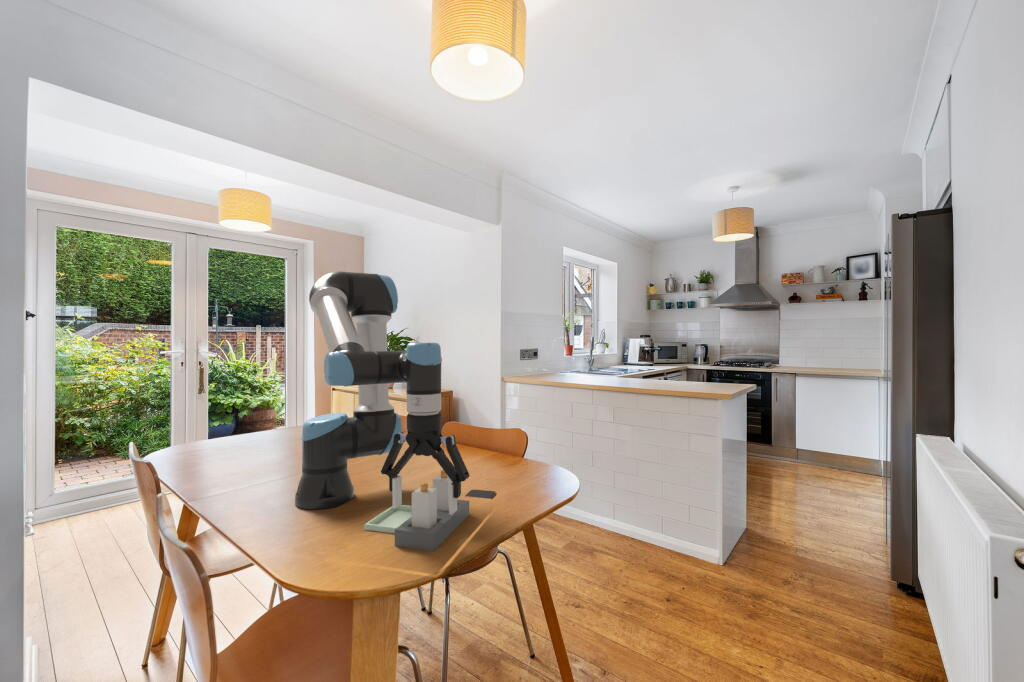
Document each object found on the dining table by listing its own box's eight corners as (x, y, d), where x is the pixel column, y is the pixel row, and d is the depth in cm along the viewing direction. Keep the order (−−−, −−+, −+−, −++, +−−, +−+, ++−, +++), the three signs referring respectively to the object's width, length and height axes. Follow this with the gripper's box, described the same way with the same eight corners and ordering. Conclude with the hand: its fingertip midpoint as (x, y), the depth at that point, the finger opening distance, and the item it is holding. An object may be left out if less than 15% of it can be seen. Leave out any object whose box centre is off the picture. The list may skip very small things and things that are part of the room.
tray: (364, 532, 101) (364, 524, 101) (395, 511, 114) (394, 504, 114) (400, 536, 98) (399, 528, 98) (427, 514, 111) (427, 507, 111)
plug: (411, 539, 95) (411, 486, 95) (420, 531, 98) (420, 480, 99) (428, 541, 94) (428, 487, 94) (436, 533, 97) (436, 481, 97)
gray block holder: (394, 548, 93) (394, 489, 93) (436, 513, 112) (436, 464, 112) (433, 553, 90) (433, 492, 90) (469, 516, 109) (469, 466, 109)
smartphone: (478, 515, 111) (496, 494, 127) (478, 511, 111) (496, 490, 127) (449, 512, 113) (471, 492, 129) (449, 509, 113) (471, 489, 129)
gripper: (364, 412, 96) (365, 509, 96) (470, 417, 89) (471, 521, 89) (383, 408, 103) (384, 498, 103) (483, 412, 97) (483, 508, 96)
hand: (424, 509), depth 96 cm, fingers open, 13 cm apart
